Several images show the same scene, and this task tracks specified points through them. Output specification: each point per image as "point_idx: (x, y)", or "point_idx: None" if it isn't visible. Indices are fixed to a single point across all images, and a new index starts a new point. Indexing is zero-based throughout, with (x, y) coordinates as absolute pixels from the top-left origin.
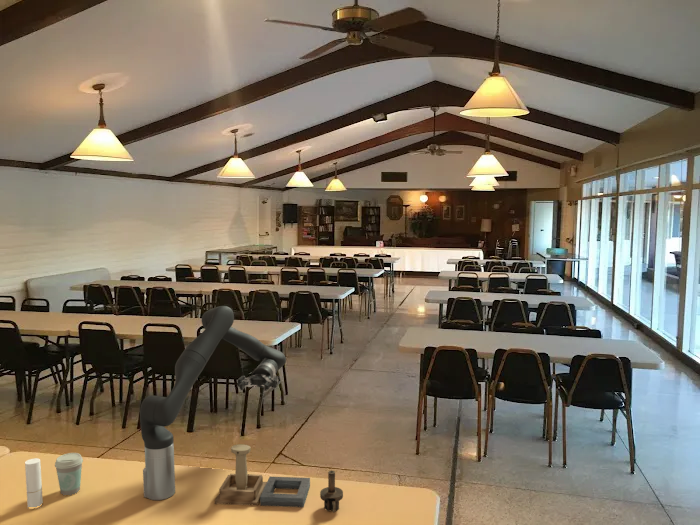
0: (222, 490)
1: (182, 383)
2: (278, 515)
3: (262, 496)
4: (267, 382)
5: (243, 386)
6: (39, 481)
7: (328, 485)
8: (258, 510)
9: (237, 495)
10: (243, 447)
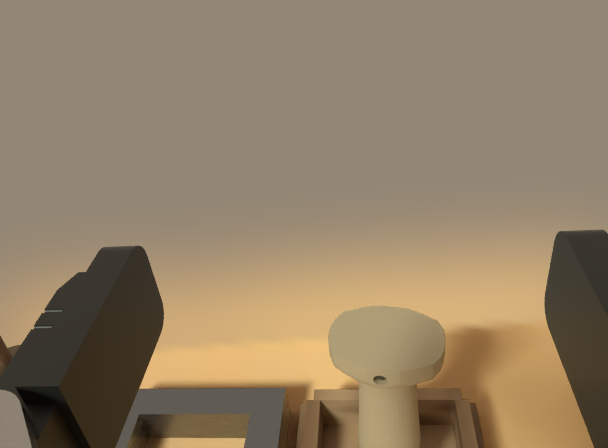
0: (448, 390)
1: None
2: (221, 363)
3: (276, 390)
4: (50, 345)
5: (571, 326)
6: None
7: (8, 351)
8: (292, 384)
9: None
10: (370, 338)
